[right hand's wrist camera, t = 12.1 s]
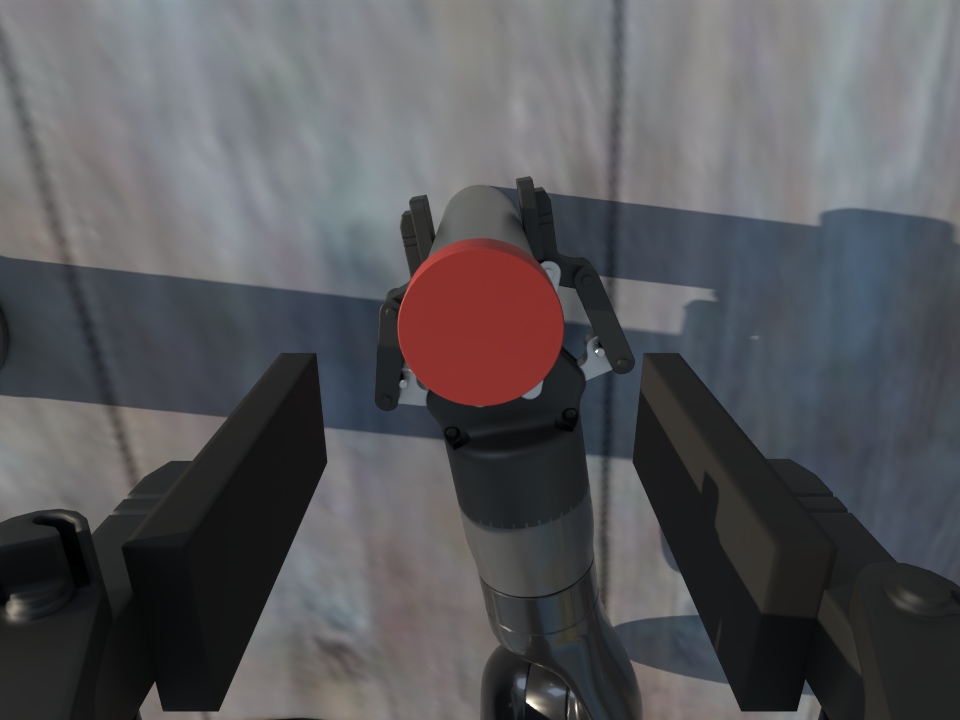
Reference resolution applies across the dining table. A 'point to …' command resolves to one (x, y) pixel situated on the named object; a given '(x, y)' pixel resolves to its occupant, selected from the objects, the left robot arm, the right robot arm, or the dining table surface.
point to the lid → (481, 322)
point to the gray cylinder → (480, 219)
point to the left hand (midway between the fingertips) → (470, 190)
